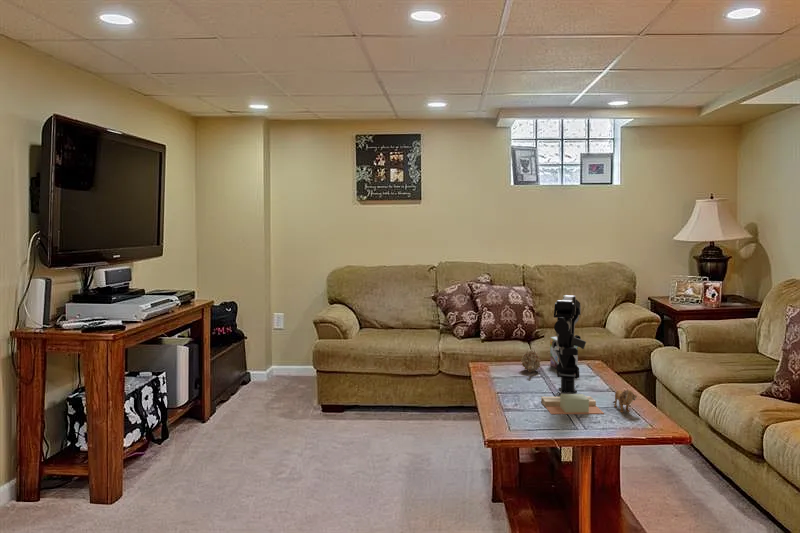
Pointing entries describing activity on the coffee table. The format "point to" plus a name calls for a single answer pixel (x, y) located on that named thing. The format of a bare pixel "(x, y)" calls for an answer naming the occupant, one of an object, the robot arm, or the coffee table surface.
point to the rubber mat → (560, 411)
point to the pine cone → (530, 361)
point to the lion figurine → (624, 399)
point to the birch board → (556, 401)
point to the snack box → (553, 354)
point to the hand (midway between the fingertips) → (564, 368)
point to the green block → (574, 403)
